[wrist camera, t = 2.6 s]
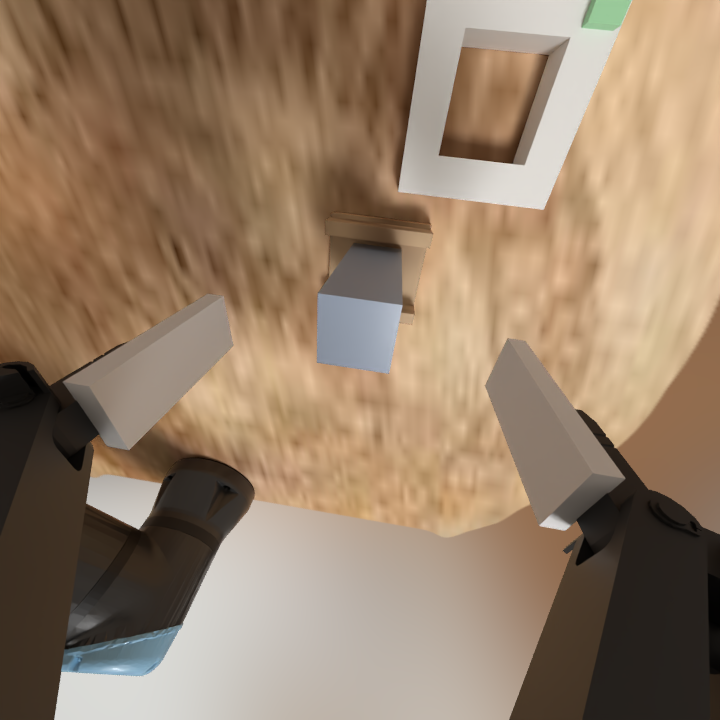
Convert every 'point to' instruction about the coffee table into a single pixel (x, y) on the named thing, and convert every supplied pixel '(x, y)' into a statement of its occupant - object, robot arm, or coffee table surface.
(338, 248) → the wooden rail base
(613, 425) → the coffee table surface
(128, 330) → the coffee table surface
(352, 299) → the plug
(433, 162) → the port
